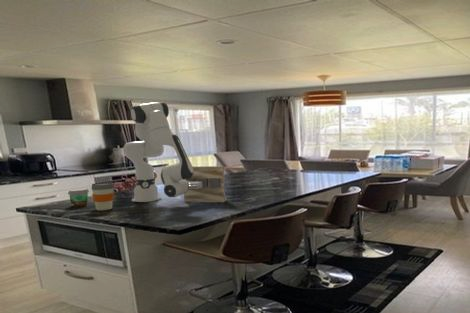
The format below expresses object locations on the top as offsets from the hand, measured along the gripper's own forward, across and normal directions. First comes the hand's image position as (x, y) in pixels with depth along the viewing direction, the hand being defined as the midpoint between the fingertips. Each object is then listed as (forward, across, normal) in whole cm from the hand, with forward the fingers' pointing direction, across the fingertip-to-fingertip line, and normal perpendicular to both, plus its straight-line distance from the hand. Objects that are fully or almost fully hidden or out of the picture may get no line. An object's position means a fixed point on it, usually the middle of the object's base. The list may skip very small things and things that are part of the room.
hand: (190, 183), depth 224 cm
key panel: (+4, -8, +12) cm, 15 cm away
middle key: (+1, -8, +3) cm, 9 cm away
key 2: (+3, -16, +2) cm, 16 cm away
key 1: (+3, 0, +3) cm, 4 cm away
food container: (-17, +67, +12) cm, 70 cm away
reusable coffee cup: (-23, +46, +12) cm, 53 cm away
